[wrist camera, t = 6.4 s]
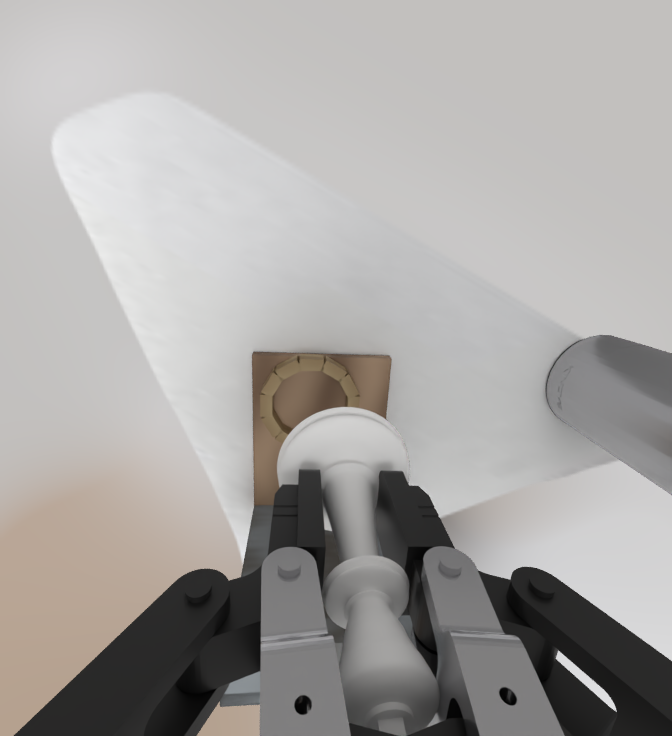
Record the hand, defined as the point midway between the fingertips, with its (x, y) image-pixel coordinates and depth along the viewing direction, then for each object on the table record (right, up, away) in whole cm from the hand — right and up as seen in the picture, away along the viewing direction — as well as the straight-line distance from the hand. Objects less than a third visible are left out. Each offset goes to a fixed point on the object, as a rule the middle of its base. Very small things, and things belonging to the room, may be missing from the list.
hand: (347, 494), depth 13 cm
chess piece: (0, +1, +2) cm, 2 cm away
